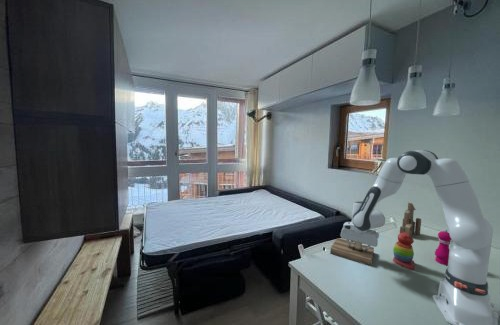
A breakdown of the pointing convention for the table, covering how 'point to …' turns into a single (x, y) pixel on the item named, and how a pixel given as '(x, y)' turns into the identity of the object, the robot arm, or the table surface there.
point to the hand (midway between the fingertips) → (357, 248)
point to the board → (352, 251)
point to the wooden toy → (410, 222)
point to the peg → (358, 246)
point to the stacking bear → (404, 251)
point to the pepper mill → (443, 247)
